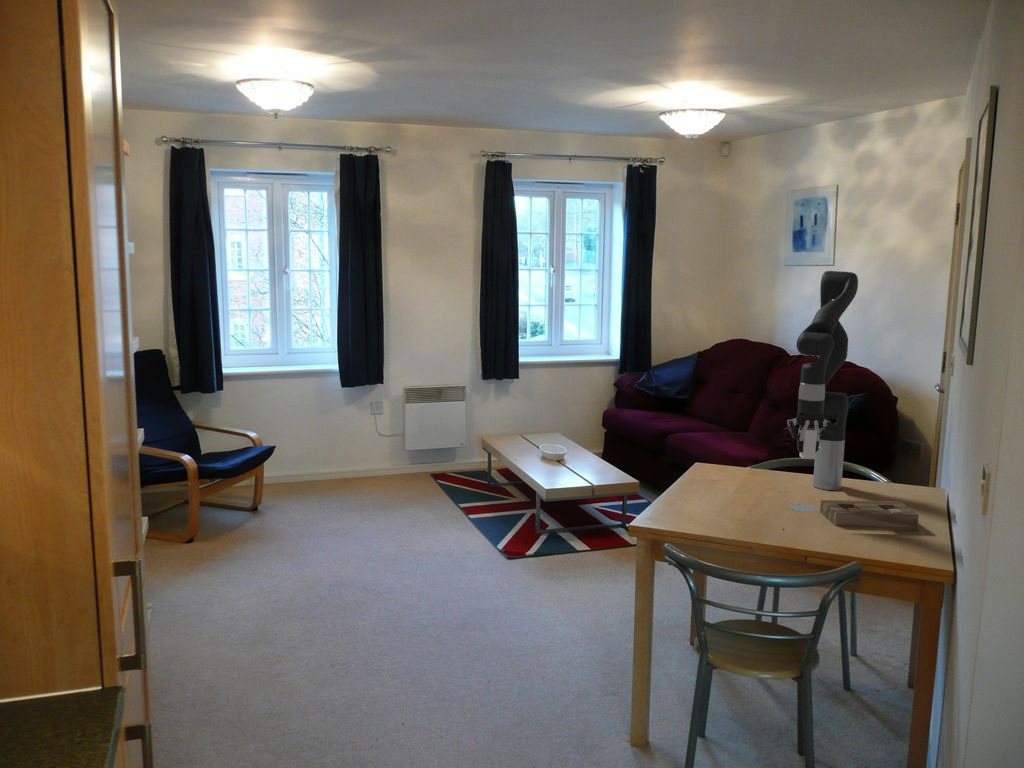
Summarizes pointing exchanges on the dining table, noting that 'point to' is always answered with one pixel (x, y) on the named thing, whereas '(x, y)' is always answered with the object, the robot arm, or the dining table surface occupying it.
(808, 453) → the plug
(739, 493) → the dining table surface
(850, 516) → the socket block
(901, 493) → the dining table surface
